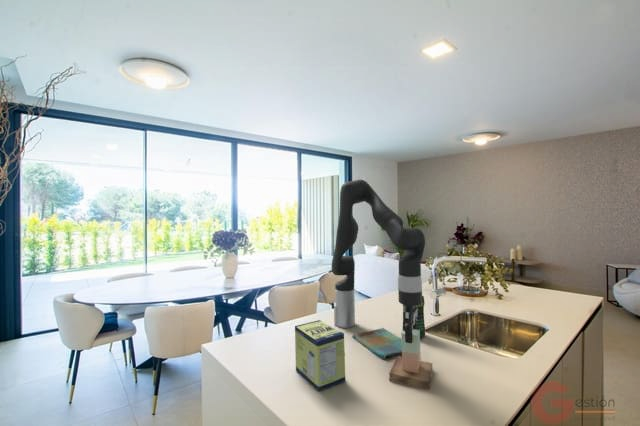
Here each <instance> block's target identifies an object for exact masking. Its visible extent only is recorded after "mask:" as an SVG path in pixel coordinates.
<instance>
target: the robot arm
mask: <svg viewBox="0 0 640 426" xmlns="http://www.w3.org/2000/svg"><path fill="white" fill-rule="evenodd" d="M363 202H364V203H366V204H368V205H370V208H371V213H372V217H373V219H374V221H375V222H376V223H377V225H378V226H379V227H380V228H381V229H382V230H384V231H385V232H386V234H387V236H388V238H389V239H390V241H391V243H392V244H393V245H394V246H395V247H396V248H397V249H399V250H401V251H405V254H404V255H403V256H402V257H400V258H399V259H398V279H397V281H398V282H397V286H398V288H397V290H398V293H397V294H398V302H399V304H401V305H403V304H404V305H405V306H406V307H405V309H404V310H403V309H402V331H405V342H406V343H412V342H413V333H412V332H413V329H416V321H417V317H418V316H417V305H420V304H422V296H423V282H422V281H423V280H422V269H421V268H422V267H421V266H422V265H421V264H422V259H423V255H424V250H425V246H426V238H425V234H424V233H423V231H422V230H421V228H417V227H410V228H409V227H408V228H405V227H403V226H404V221H403V219H402V217H400V216H399V215H398V214H397V213H396V212H394V211H393V210H392V209H391V208H390V207H389V206H387V204H385V203H384V201H383V200H382V199H381V197H380V195H378V194H377V192H376V191H375V190H374V189H373V187H372V186H371V185H370V184H369V183H368V182H367V181H366V180H365V179H355V180H352V181H346V182H344V183H343V184H341V187H340V191H339V215H338V222H337V227H336V238H335V247H334V251H333V255H332V260H331V272H332V274H333V275H334V276H345V277H344V278H343V279H341V280H340V281H337V282H336V283H335V285H334V287H335V288H334V289H335V291H334V292H335V304H334V305H333V311H334V312H333V313H334V314H333V315H334V316H333V317H334V319H333V320H334V326H337V327H339V328H344V329H345V328H347V329H349V328H353V327H354V326H355V325H356V314H355V313H356V310H355V309H356V307H355V302H356V300H355V271H356V270H355V266H356V265H355V258H354V257H353V256H352V255H345V254H346V253H347V252H348V251H349V250H350V249H351V248H352V247H353V246H354V245H355V243H356V242H357V239H358V234H359V224H358V222H357V220H356V219H355V218H354V215H353V213H352V210H353V207H354V205H356V204H360V203H363ZM407 324H409V327H407Z"/></svg>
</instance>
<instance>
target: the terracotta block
mask: <svg viewBox="0 0 640 426" xmlns="http://www.w3.org/2000/svg"><path fill="white" fill-rule="evenodd" d="M401 357H402V370H404V371H409V372H414V373H419V369H420V361H421V349H420V350H419V353H418V354H412V353H407V352H402V356H401Z"/></svg>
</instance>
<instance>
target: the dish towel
mask: <svg viewBox="0 0 640 426" xmlns="http://www.w3.org/2000/svg"><path fill="white" fill-rule="evenodd" d="M351 338H352V339H353V340H355V341H356V342H357V343H359V344H360V345H362V346H363V347H364V348H366V349H368V351H369V352H371V353H372V354H374V355H375V356H377V357H378V358H380V359H381V360H383V361H388V360H390V359H396V357H402V337H400V336H397V335H396V334H394V333H392V332H391V331H389V330H387V329H386V328H384V327H381V328H378V329H372V330H370V331H364V332H360V333H355V334H352V336H351Z"/></svg>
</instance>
